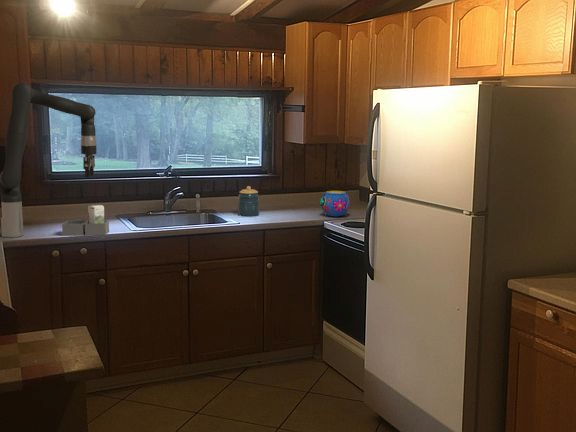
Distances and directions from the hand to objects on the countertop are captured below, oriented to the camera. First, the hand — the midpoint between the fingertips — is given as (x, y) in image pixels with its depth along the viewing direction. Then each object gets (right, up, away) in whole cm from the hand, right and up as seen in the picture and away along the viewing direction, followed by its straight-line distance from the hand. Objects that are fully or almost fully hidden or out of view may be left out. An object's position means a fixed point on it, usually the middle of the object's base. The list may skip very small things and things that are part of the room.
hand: (89, 176), depth 334 cm
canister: (+78, -20, +62) cm, 102 cm away
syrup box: (+5, -30, -3) cm, 30 cm away
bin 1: (-6, -29, -4) cm, 30 cm away
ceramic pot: (+130, -21, +60) cm, 145 cm away
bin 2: (+5, -29, -3) cm, 30 cm away
